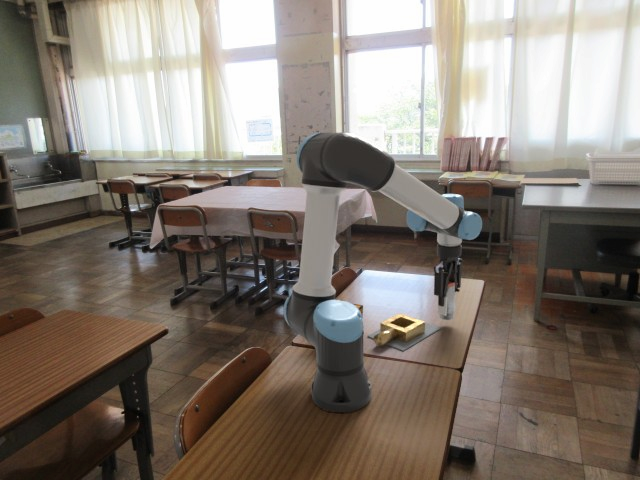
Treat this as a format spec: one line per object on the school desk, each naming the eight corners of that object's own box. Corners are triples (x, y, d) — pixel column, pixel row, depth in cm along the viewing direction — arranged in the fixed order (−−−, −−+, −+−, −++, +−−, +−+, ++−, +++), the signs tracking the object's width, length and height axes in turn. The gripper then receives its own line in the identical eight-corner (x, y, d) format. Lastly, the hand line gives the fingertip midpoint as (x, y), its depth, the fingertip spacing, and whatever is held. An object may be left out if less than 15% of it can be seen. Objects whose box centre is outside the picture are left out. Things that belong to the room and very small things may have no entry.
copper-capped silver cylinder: (448, 321, 143) (449, 285, 140) (436, 317, 146) (437, 282, 143) (456, 316, 146) (457, 282, 143) (444, 313, 149) (445, 279, 146)
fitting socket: (391, 351, 131) (391, 340, 130) (365, 340, 138) (365, 330, 137) (424, 332, 142) (425, 321, 141) (399, 323, 149) (399, 313, 148)
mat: (403, 351, 131) (403, 350, 131) (367, 336, 141) (367, 335, 141) (440, 328, 144) (440, 327, 144) (405, 316, 154) (405, 315, 154)
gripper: (444, 250, 131) (441, 323, 137) (474, 240, 143) (470, 307, 148) (423, 246, 137) (421, 316, 142) (453, 236, 148) (451, 301, 154)
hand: (446, 312), depth 145 cm, fingers closed on copper-capped silver cylinder, 5 cm apart
